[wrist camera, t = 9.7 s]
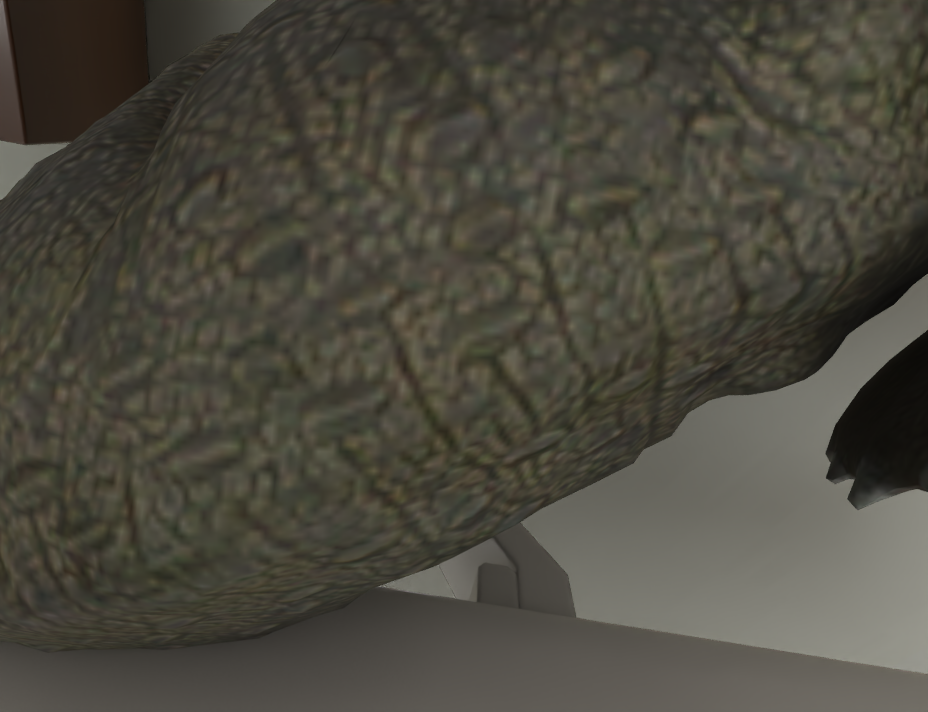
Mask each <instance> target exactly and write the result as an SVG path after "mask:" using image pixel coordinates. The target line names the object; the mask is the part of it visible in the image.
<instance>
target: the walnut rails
mask: <svg viewBox="0 0 928 712" xmlns="http://www.w3.org/2000/svg"><path fill="white" fill-rule="evenodd" d="M148 84H149V81H148V64H147V46H146V28H145V10H144V0H0V140H1V141H6V142H11V143H17V144H22V145H38V144H56V143H71V142H73V141H74V140H75V139H76V138H78V137H79V136H80V135H81V134H83V133H84V132H85V131H86V130H87V129H88V128H89V127H90V126H92V125H93V124H94V123H95V122H96V121H98V120H100V119H101V118H103V117H105V116H106V115H108V114H109V113H110V112H112V111H113V110H114V109H116V108H117V107H118V106H120V105H121V104H122V103H124V102H125V101H126V100H128V99H129V98H130V97H132V96H133V95H134V94H136V93H137V92H138V91H140V90H141V89H142V88H144V87H145V86H146V85H148Z"/></svg>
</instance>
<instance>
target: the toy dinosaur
mask: <svg viewBox="0 0 928 712" xmlns="http://www.w3.org/2000/svg"><path fill="white" fill-rule="evenodd" d="M926 274H928V0H276V1H275V2H274V3H273V4H271V5H270V6H269V7H267V8H266V9H265V10H264V11H262V12H261V13H260V14H258V15H257V16H256V17H255V18H254V19H252V20H251V21H250V22H249V23H248V24H247V25H246V26H245V27H244V28H243V29H242V31H241V32H240V33H233V34H225V35H219V36H218V37H216V38H214V39H212V40H210V41H208V42H206V43H205V44H203V45H201V46H199V47H198V48H197V49H195V50H194V51H193V52H191V53H190V54H188V55H187V56H185V57H183V58H181V59H179V60H178V61H176V62H174V63H172V64H171V65H169V66H167V67H166V68H165V70H164V71H163V72H162V73H161V74H160V75H159V76H158V77H157V78H156V79H154V80H153V81H152V82H150V83H149V84H148V85H146V86H145V87H144V88H142V89H141V90H140V91H138V92H137V93H136V94H134V95H133V96H132V97H130V98H129V99H128V100H126V101H125V102H124V103H122V104H121V105H120V106H118V107H117V108H116V109H114V110H113V111H112V112H110V113H109V114H108V115H106V116H105V117H103V118H101V119H100V120H98V121H96V122H95V123H94V124H93V125H92V126H90V127H89V128H88V129H87V130H86V131H85V132H84V133H83V134H81V135H80V136H79V137H78V138H76V139H75V140H74V141H73V142H71V143H70V144H69V145H68V146H67V147H65V148H63V149H61V150H60V151H58V152H56V153H54V154H52V155H50V156H49V157H47V158H45V159H43V160H41V161H40V162H38V163H36V164H35V165H34V166H33V168H32V169H31V170H30V171H29V172H28V174H27V175H26V176H25V177H24V178H23V179H21V180H20V181H18V183H17V184H16V185H15V186H14V187H13V189H12V190H11V191H10V192H9V193H8V194H7V196H6V197H5V198H3V199H2V200H1V201H0V641H2V642H11V643H16V644H19V645H23V646H26V647H30V648H33V649H36V650H40V651H43V652H47V653H52V652H58V651H72V650H82V649H88V650H109V649H137V648H141V649H156V650H168V649H176V648H184V647H191V646H199V645H207V644H216V643H225V642H233V641H242V640H250V639H259V638H261V637H263V636H266V635H268V634H270V633H272V632H275V631H277V630H280V629H283V628H286V627H288V626H291V625H294V624H296V623H299V622H302V621H305V620H307V619H310V618H313V617H316V616H319V615H323V614H326V613H329V612H333V611H336V610H339V609H343V608H345V607H346V606H347V605H349V604H350V603H351V602H352V601H354V600H355V599H357V598H358V597H360V596H361V595H363V594H364V593H366V592H367V591H369V590H371V589H373V588H375V587H377V586H380V585H383V584H386V583H389V582H391V581H394V580H397V579H400V578H403V577H406V576H409V575H411V574H414V573H417V572H420V571H423V570H425V569H428V568H431V567H434V566H436V565H438V564H440V563H442V562H445V561H447V560H449V559H451V558H453V557H455V556H457V555H459V554H461V553H463V552H465V551H467V550H469V549H471V548H473V547H475V546H477V545H479V544H481V543H483V542H484V541H486V540H488V539H490V538H492V537H494V536H496V535H498V534H500V533H501V532H503V531H505V530H507V529H509V528H511V527H513V526H514V525H516V524H518V523H519V522H521V521H523V520H524V519H526V518H527V517H529V516H530V515H532V514H533V513H535V512H537V511H538V510H540V509H541V508H543V507H546V506H548V505H550V504H552V503H554V502H556V501H558V500H560V499H562V498H564V497H566V496H568V495H570V494H572V493H575V492H577V491H579V490H581V489H583V488H585V487H587V486H589V485H591V484H593V483H595V482H597V481H599V480H601V479H603V478H605V477H607V476H609V475H611V474H613V473H615V472H617V471H619V470H621V469H623V468H625V467H627V466H629V465H631V464H633V463H634V462H635V460H636V459H637V458H638V456H639V455H640V454H641V452H642V451H643V450H644V449H645V448H647V447H649V446H652V445H654V444H656V443H658V442H660V441H662V440H664V439H666V438H668V437H670V436H672V434H673V433H674V432H675V430H676V429H677V427H678V426H679V425H680V423H681V422H682V421H683V419H684V418H685V416H686V415H687V414H688V413H689V412H690V411H692V410H694V409H695V408H697V407H699V406H700V405H702V404H704V403H706V402H707V401H709V400H712V399H716V398H720V397H723V396H727V395H751V394H757V393H763V392H768V391H774V390H778V389H780V388H783V387H786V386H788V385H791V384H794V383H796V382H799V381H802V380H805V379H806V378H808V377H810V376H811V375H813V374H814V373H816V372H817V371H818V370H819V369H820V368H821V367H822V366H823V365H824V364H825V363H826V362H827V361H828V360H829V359H830V358H831V357H832V356H833V355H834V353H835V352H836V351H837V349H838V348H839V347H840V345H841V344H842V342H843V341H844V339H845V338H846V336H847V335H848V334H849V333H851V332H852V331H853V330H855V329H856V328H858V327H859V326H860V325H862V324H863V323H864V322H866V321H867V320H869V319H871V318H872V317H874V316H876V315H877V314H879V313H881V312H882V311H884V310H886V309H887V308H889V307H891V306H892V305H894V304H895V303H896V302H897V301H898V300H899V299H900V298H901V297H902V296H903V295H904V294H905V293H906V291H907V290H908V289H909V288H910V287H911V286H912V285H913V284H915V283H916V282H917V281H919V280H920V279H921V278H922V277H924V276H925V275H926ZM826 455H827V457H828V459H829V461H830V462H831V464H830V467H829V470H828V473H827V476H826V479H828V480H829V481H831V482H832V483H834V484H837V483H840V482H842V481H845V480H847V479H855V481H854V483H853V486H852V488H851V491H850V493H849V496H848V498H847V499H848V500H849V502H850V503H851V504H852V505H853V506H854V507H855V508H856V509H857V510H859V509H861V508H864V507H866V506H868V505H871V504H873V503H875V502H878V501H880V500H883V499H886V498H889V497H892V496H895V495H897V494H900V493H903V492H906V491H909V490H914V489H920V490H923V491H926V492H928V330H927V331H926V332H925V333H923V334H922V335H921V336H920V337H918V338H917V339H916V340H914V341H913V342H912V343H911V344H909V345H908V346H907V347H906V348H904V349H903V350H902V351H900V352H899V353H898V354H897V355H895V356H894V357H893V358H892V359H890V360H889V361H888V362H887V363H886V364H885V365H884V366H883V367H882V368H881V369H880V370H879V371H878V372H877V373H876V374H875V375H874V376H873V377H872V378H871V379H870V380H869V381H868V382H867V383H866V384H865V385H864V386H863V387H862V388H861V389H860V390H859V392H858V393H857V395H856V396H855V397H854V399H853V400H852V402H851V403H850V405H849V406H848V407H847V409H846V410H845V412H844V413H843V415H842V416H841V417H840V419H839V420H838V422H837V423H836V425H835V427H834V430H833V433H832V436H831V439H830V442H829V445H828V447H827V450H826Z"/></svg>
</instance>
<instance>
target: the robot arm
mask: <svg viewBox="0 0 928 712" xmlns="http://www.w3.org/2000/svg"><path fill="white" fill-rule="evenodd" d="M439 565H440V569H441V570H442V572H443V574H444V576H445V578H446V580H447V582H448V584H449V586H450V588H451V589H452V591H453V593H454V595H455V597H456V599H454V598H448V597H442V596H436V595H429V594H423V593H417V592H411V591H404V590H398V589H392V588H386V587H379V586H377V587H375V588H373V589H371V590H369V591H367V592H366V593H364V594H363V595H361V596H360V597H358V598H357V599H355V600H354V601H352V602H351V603H350V604H349V605H347V606H346V607H345V608H343V609H339V610H336V611H333V612H329V613H326V614H323V615H319V616H316V617H313V618H310V619H307V620H305V621H302V622H299V623H296V624H294V625H291V626H288V627H286V628H283V629H280V630H277V631H275V632H272V633H270V634H268V635H266V636H263V637H261V638H259V639H250V640H242V641H233V642H225V643H216V644H207V645H199V646H191V647H184V648H176V649H168V650H156V649H141V648H137V649H109V650H88V649H82V650H72V651H58V652H52V653H47V652H43V651H40V650H36V649H33V648H30V647H26V646H23V645H19V644H16V643H11V642H2V641H0V712H928V674H924V673H918V672H911V671H905V670H899V669H893V668H886V667H880V666H874V665H868V664H861V663H855V662H849V661H842V660H836V659H830V658H824V657H817V656H811V655H805V654H799V653H792V652H786V651H780V650H774V649H767V648H761V647H755V646H749V645H742V644H736V643H730V642H724V641H717V640H711V639H705V638H699V637H693V636H686V635H680V634H674V633H668V632H662V631H655V630H649V629H643V628H636V627H630V626H624V625H618V624H611V623H605V622H599V621H593V620H586V619H580V618H576V613H575V608H574V603H573V598H572V593H571V588H570V583H569V578H568V574H567V573H566V572H565V571H564V570H563V569H562V568H561V567H560V566H559V565H558V563H557V562H556V561H555V560H554V559H553V558H552V557H551V556H550V555H549V554H548V552H547V551H546V550H545V549H544V548H543V547H542V546H541V545H540V544H539V543H538V541H537V540H536V539H535V538H534V537H533V536H532V535H531V534H530V533H529V532H528V531H527V529H526V528H525V527H524V526H523V525H522V524H521V523H520V522H519V523H518V524H516V525H514V526H513V527H511V528H509V529H507V530H505V531H503V532H501V533H500V534H498V535H496V536H494V537H492V538H490V539H488V540H486V541H484V542H483V543H481V544H479V545H477V546H475V547H473V548H471V549H469V550H467V551H465V552H463V553H461V554H459V555H457V556H455V557H453V558H451V559H449V560H447V561H445V562H442V563H440V564H439Z"/></svg>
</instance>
